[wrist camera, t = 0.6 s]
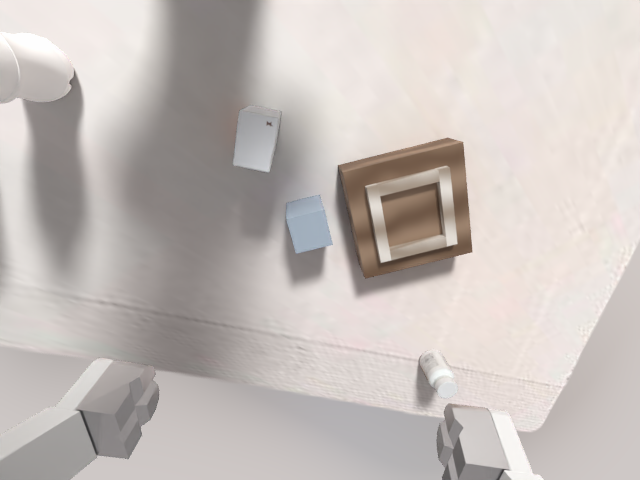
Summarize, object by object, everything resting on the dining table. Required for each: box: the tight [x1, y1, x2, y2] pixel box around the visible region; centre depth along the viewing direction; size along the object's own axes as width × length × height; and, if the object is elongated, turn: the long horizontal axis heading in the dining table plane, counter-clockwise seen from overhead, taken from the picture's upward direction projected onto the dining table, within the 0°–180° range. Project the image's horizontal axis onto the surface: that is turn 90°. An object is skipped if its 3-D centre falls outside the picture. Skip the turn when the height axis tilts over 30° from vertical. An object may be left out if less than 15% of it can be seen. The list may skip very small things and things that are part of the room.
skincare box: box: [233, 105, 281, 173], centre depth 45 cm, size 6×4×12 cm
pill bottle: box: [419, 350, 458, 398], centre depth 64 cm, size 4×4×8 cm
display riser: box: [338, 138, 472, 279], centre depth 53 cm, size 16×16×6 cm
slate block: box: [286, 195, 333, 254], centre depth 52 cm, size 5×5×8 cm
